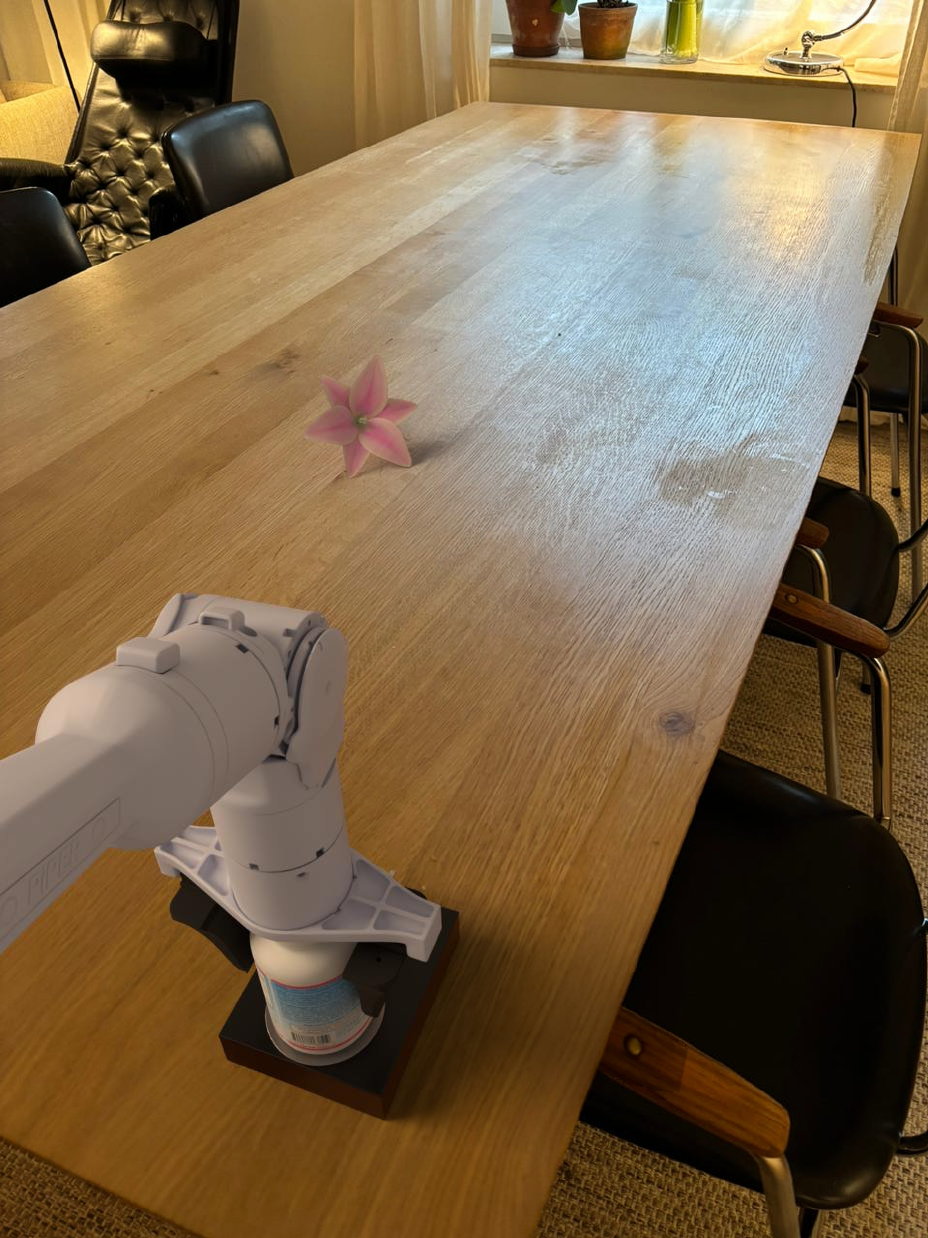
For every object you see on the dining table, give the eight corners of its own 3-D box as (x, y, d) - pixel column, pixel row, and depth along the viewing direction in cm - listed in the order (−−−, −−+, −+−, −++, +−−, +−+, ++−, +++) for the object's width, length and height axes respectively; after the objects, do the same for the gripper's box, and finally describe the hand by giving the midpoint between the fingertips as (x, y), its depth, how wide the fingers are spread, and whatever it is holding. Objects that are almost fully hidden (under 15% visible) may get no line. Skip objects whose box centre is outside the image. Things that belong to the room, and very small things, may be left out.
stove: (384, 1121, 55) (380, 1096, 53) (226, 1060, 58) (217, 1033, 55) (467, 921, 64) (466, 893, 62) (328, 876, 67) (323, 848, 65)
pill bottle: (398, 990, 57) (386, 875, 50) (333, 1079, 53) (310, 970, 46) (316, 940, 60) (293, 824, 52) (248, 1022, 56) (213, 909, 49)
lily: (290, 481, 106) (303, 430, 98) (307, 393, 111) (321, 338, 103) (399, 507, 109) (420, 459, 100) (411, 420, 114) (432, 368, 105)
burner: (354, 1085, 53) (354, 1083, 53) (243, 1043, 55) (243, 1041, 55) (403, 975, 58) (403, 973, 58) (300, 940, 60) (299, 938, 60)
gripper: (462, 797, 46) (465, 955, 55) (190, 719, 50) (234, 879, 58) (402, 924, 41) (416, 1076, 50) (105, 827, 45) (167, 984, 53)
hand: (314, 977), depth 54 cm, fingers open, 7 cm apart
